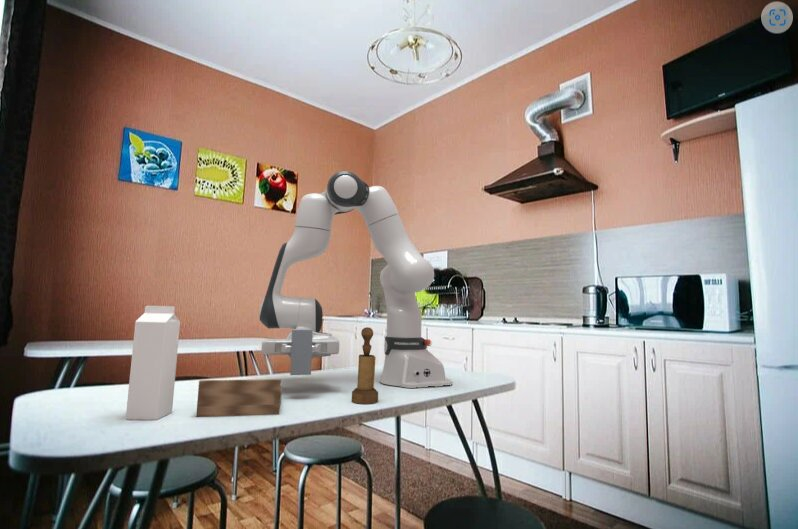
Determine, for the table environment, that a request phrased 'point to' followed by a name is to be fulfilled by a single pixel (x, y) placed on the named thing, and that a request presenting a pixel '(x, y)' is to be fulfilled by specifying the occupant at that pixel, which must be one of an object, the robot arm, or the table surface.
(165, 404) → the milk
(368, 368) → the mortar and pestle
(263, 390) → the brown wooden block
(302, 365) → the grey block
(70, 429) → the table surface
